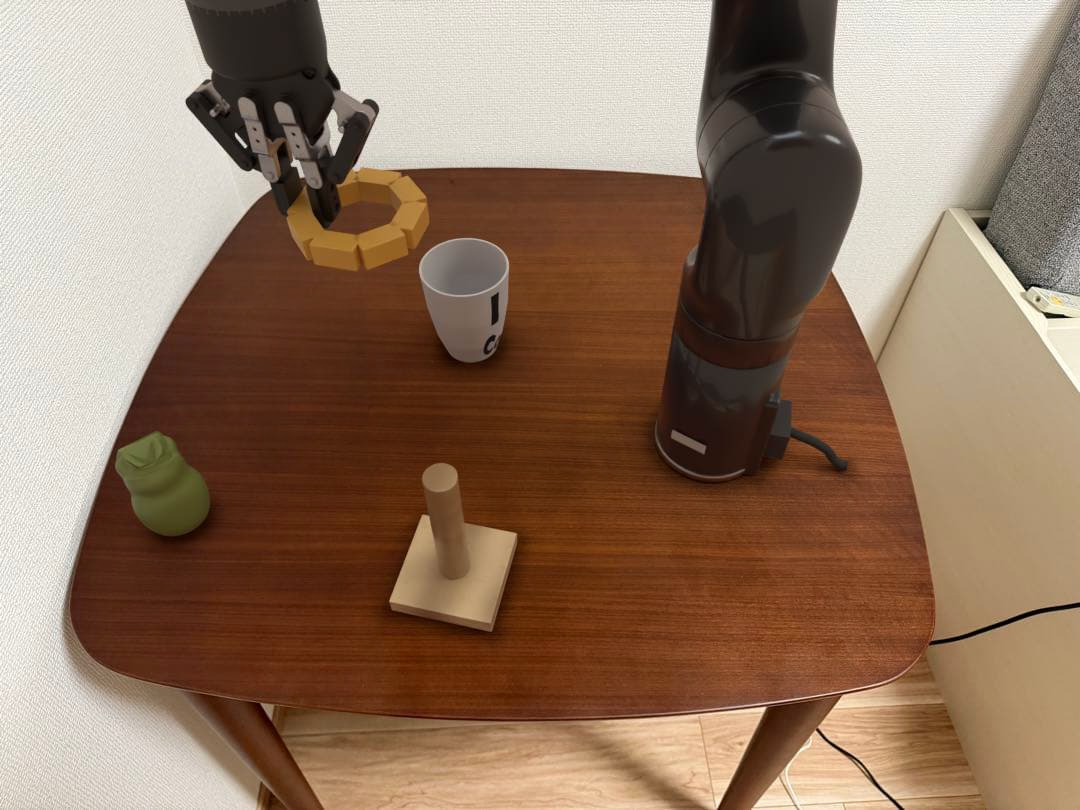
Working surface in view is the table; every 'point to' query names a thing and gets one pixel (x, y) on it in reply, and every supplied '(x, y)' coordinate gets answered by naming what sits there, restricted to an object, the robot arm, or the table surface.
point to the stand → (453, 560)
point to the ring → (371, 244)
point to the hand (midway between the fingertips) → (313, 218)
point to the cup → (466, 295)
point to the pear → (163, 485)
